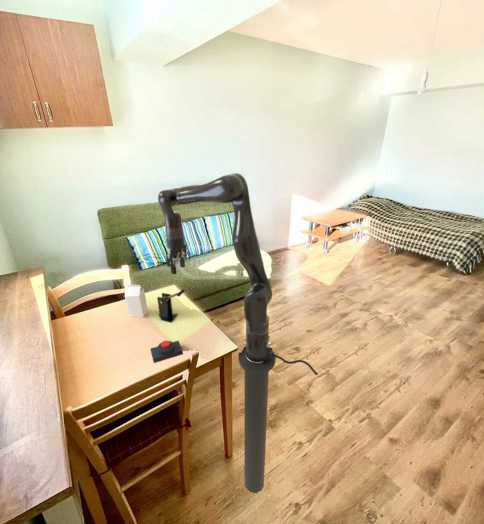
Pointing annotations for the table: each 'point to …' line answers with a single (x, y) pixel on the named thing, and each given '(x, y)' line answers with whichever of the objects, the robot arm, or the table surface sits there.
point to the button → (165, 344)
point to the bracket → (166, 309)
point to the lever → (174, 295)
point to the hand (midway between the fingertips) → (178, 270)
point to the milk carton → (136, 301)
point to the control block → (166, 352)
